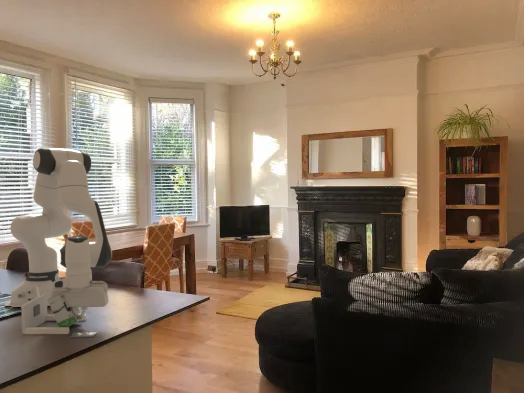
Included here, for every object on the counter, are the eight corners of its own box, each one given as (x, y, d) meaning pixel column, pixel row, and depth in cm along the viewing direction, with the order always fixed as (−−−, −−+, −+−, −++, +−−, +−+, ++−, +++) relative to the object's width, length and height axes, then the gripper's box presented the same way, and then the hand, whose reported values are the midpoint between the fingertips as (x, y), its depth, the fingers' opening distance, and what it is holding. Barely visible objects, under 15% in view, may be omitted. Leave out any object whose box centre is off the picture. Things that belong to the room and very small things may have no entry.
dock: (22, 334, 159) (21, 305, 159) (44, 319, 175) (44, 293, 175) (68, 333, 159) (67, 305, 158) (86, 319, 175) (85, 293, 174)
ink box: (71, 325, 162) (58, 294, 162) (59, 330, 163) (46, 299, 163) (83, 318, 171) (71, 288, 171) (72, 322, 171) (59, 293, 171)
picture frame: (68, 340, 154) (68, 336, 154) (73, 335, 159) (73, 332, 159) (92, 339, 155) (92, 336, 155) (96, 335, 159) (96, 331, 159)
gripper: (110, 278, 169) (111, 316, 170) (55, 279, 169) (56, 316, 170) (104, 282, 163) (105, 321, 163) (47, 283, 163) (48, 321, 164)
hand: (80, 318), depth 167 cm, fingers closed
